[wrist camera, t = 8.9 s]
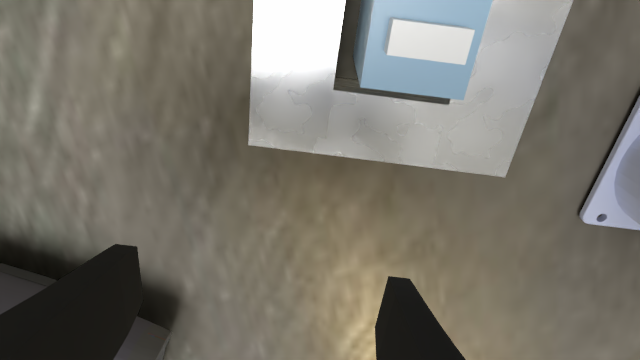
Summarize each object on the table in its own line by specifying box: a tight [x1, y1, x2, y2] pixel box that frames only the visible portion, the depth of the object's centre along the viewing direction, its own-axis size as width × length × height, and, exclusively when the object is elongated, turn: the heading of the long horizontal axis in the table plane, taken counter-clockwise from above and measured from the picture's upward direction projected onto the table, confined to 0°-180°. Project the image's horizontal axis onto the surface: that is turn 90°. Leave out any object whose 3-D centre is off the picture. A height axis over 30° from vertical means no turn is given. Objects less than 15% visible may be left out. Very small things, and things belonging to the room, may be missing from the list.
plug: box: [353, 0, 493, 100], centre depth 14 cm, size 4×4×7 cm
